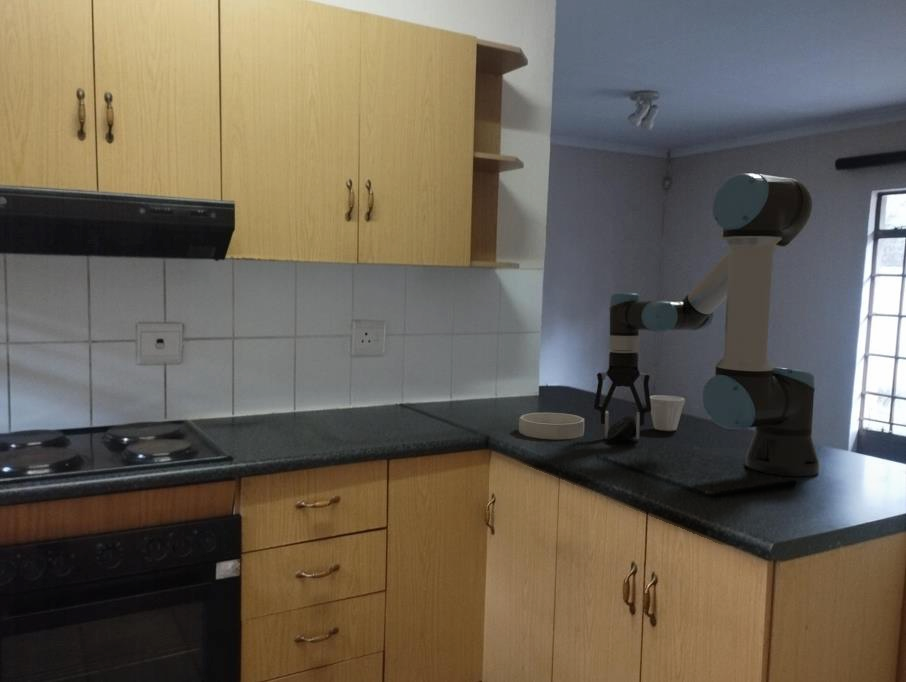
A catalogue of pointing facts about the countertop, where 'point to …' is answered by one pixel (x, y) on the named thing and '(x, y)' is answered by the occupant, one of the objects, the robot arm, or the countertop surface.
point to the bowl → (551, 425)
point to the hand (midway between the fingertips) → (621, 436)
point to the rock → (622, 430)
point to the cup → (666, 412)
